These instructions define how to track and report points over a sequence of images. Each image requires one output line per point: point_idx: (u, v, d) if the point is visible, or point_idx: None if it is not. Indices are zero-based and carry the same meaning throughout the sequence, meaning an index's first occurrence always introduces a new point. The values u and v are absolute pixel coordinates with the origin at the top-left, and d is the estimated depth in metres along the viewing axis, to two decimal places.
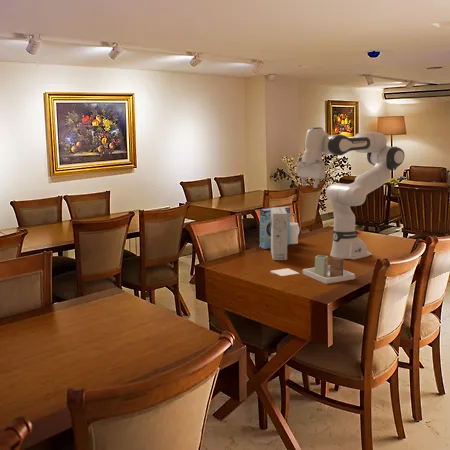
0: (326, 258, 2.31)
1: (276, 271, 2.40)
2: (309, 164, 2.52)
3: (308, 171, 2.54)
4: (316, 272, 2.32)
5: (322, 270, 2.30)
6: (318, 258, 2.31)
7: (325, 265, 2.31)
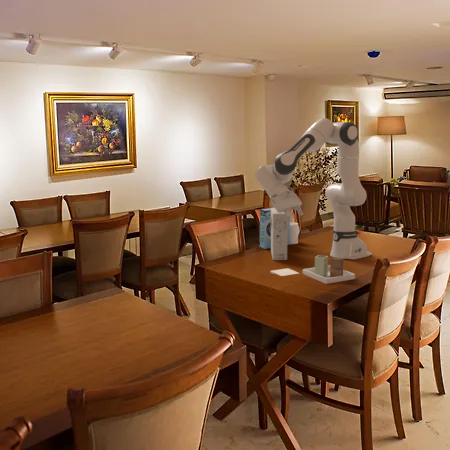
0: (326, 258, 2.31)
1: (276, 271, 2.40)
2: None
3: None
4: (316, 272, 2.32)
5: (322, 270, 2.30)
6: (318, 258, 2.31)
7: (325, 265, 2.31)
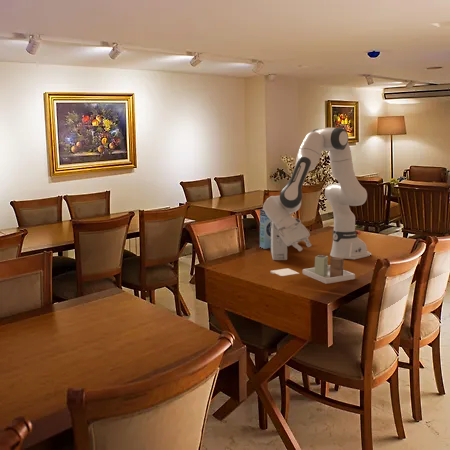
0: (326, 258, 2.31)
1: (276, 271, 2.40)
2: None
3: None
4: (316, 272, 2.32)
5: (322, 270, 2.30)
6: (318, 258, 2.31)
7: (325, 265, 2.31)
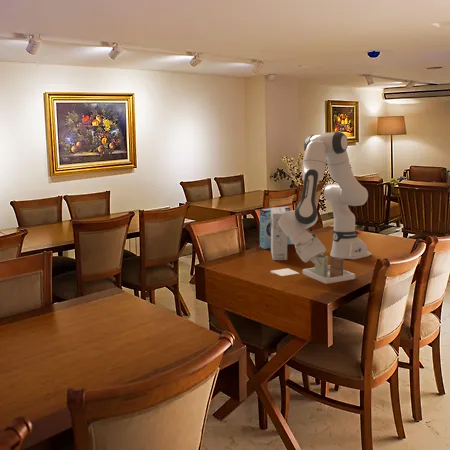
0: (326, 258, 2.31)
1: (276, 271, 2.40)
2: None
3: None
4: (316, 272, 2.32)
5: (322, 270, 2.30)
6: (318, 258, 2.31)
7: (325, 265, 2.31)
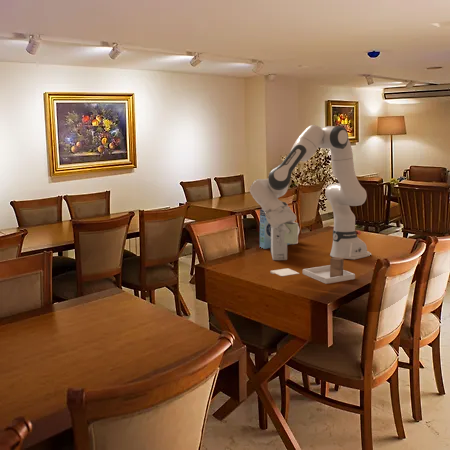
0: (296, 225, 2.33)
1: (276, 271, 2.40)
2: None
3: None
4: (286, 239, 2.34)
5: (292, 237, 2.32)
6: (288, 225, 2.32)
7: (295, 232, 2.33)
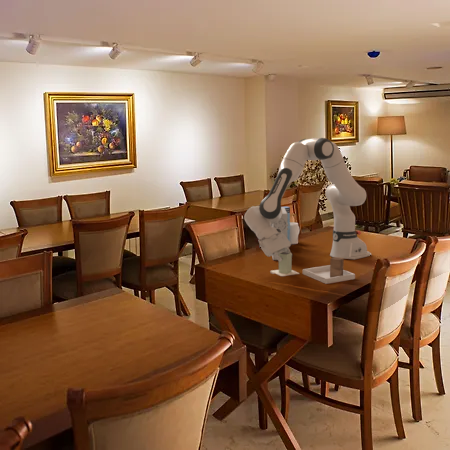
0: (290, 255, 2.37)
1: (276, 271, 2.40)
2: None
3: None
4: (280, 269, 2.38)
5: (286, 267, 2.36)
6: (282, 255, 2.36)
7: (288, 262, 2.37)
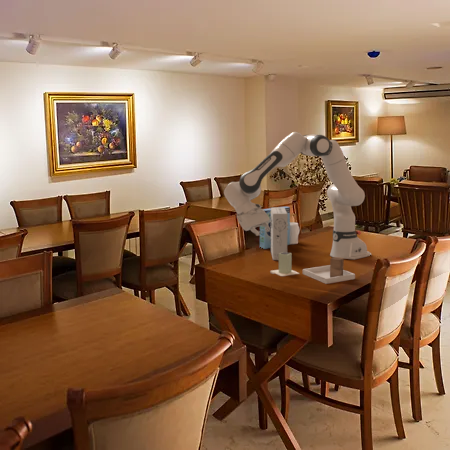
0: (290, 255, 2.37)
1: (276, 271, 2.40)
2: None
3: None
4: (280, 269, 2.38)
5: (286, 267, 2.36)
6: (282, 255, 2.36)
7: (288, 262, 2.37)
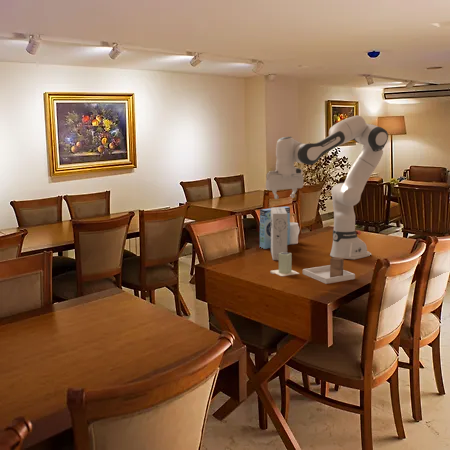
0: (290, 255, 2.37)
1: (276, 271, 2.40)
2: None
3: None
4: (280, 269, 2.38)
5: (286, 267, 2.36)
6: (282, 255, 2.36)
7: (288, 262, 2.37)
